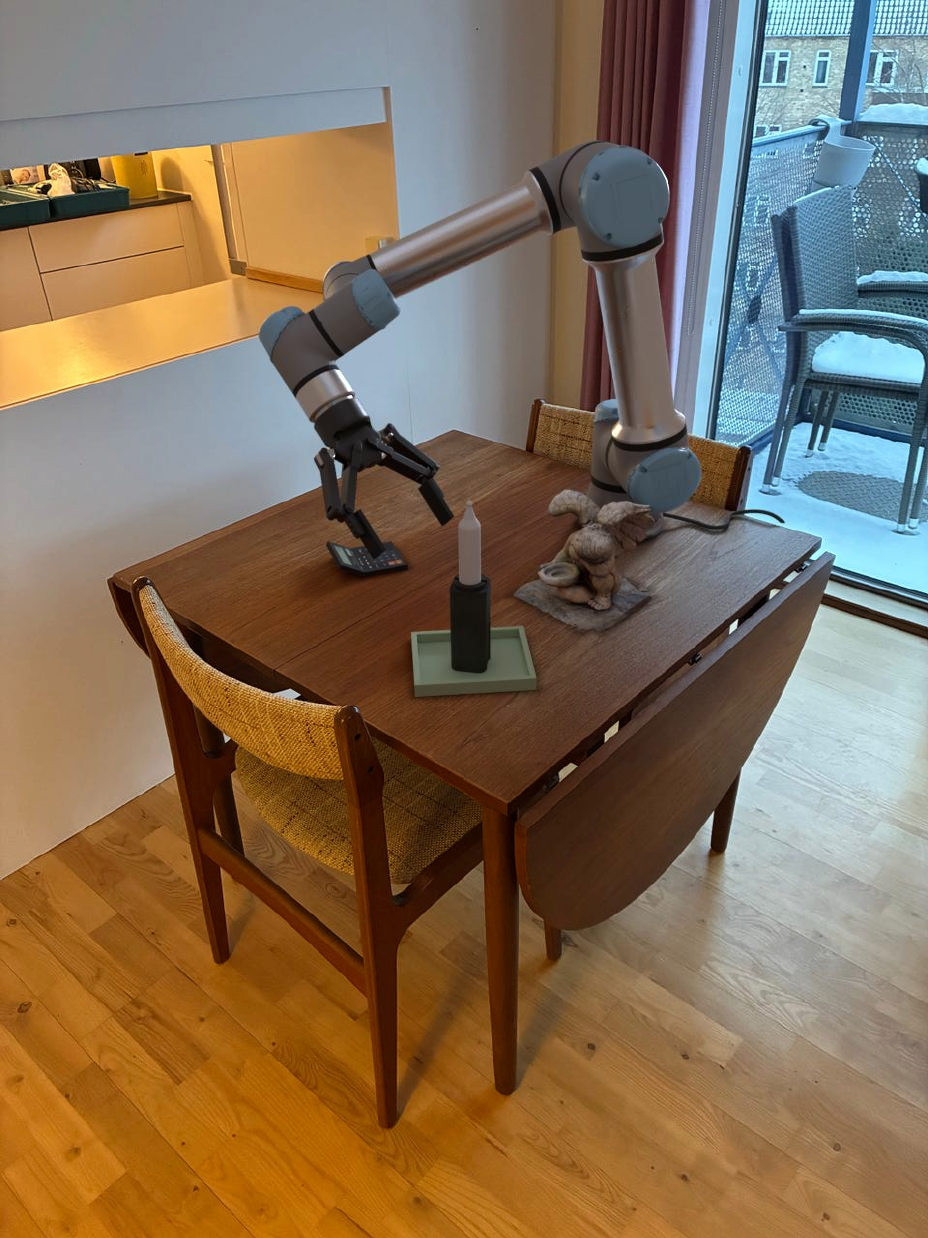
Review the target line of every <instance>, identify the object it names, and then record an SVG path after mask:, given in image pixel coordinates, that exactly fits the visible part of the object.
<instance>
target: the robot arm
mask: <svg viewBox="0 0 928 1238" xmlns="http://www.w3.org/2000/svg"><path fill="white" fill-rule="evenodd" d="M669 207H670V187H669V184H668V179H667V177H666V175H665V173H664V171H663V169H662V168H661V167H660V165H659V164H658V163H657V162H656V161H655V160H654V159H653V158H652V157H650V156H649V155H648V154H647V153H646V152H644V151H642V150H640V149H639V148H636V147H632V146H628V145H620V144H616V143H614V142H611V141H607V140H602V139H601V140H599V139H597V140H590V141H586V142H583V143H581V144H578V145H576V146H573V147H572V148H569V149H568V150H566V151H563V152H561V153H560V154H558V155H556V156H554V157H552V158H550V159H548V160H546V161H545V162H542V163H541V164H539V165H537V166H535V167H532V168H530V169H527V170H526V171H525V172H524V175H523V177H522V180H521V181H519V182H518V183H516V184H514V185H511V186H509V187H508V188H505V189H504V190H501V191H499V192H497V193H495V194H492V195H490V196H488V197H486V198H484V199H482V200H480V201H478V202H476V203H474V204H471V205H469V206H467V207H465V208H463V209H461V210H458V211H457V212H454V213H452V214H450V215H448V216H446V217H444V218H442V219H439V220H438V221H436V222H433V223H431V224H429V225H427V226H425V227H423V228H421V229H418V230H416V231H414V232H412V233H410V234H408V235H406V236H403V237H401V238H399V239H397V240H395V241H393V242H391V243H389V244H386V245H385V246H383V247H380V248H378V249H376V250H374V251H372V252H370V253H368V254H367V255H366V254H365V255H363V256H361V257H359V258H356V259H355V260H353V261H349V260H342V261H339V262H338V261H337V262H336V263H334V264H332V266H330V267H329V268H328V269H327V270H326V272H325V274H324V277H323V280H322V286H321V288H322V291H321V294H322V299H323V300H322V302H321V303H319V304H318V305H316V306H315V307H313V308H312V309H310V310H308V311H307V312H304V311H303V310H302V309H301V308H300V307H299V306H295V305H289V306H285V307H283V308H281V309H280V310H276V311H274V312H273V313H271V314H270V315H269V316H268V317H267V318H265V320H263V322H262V324H261V325H260V327H259V330H258V339H259V342H260V343H261V345H262V347H263V349H264V350H265V352H266V354H267V356H268V357H269V361H270V363H271V364H272V365H273V367H274V368H275V370H276V371H277V372H278V374H279V375H280V378H282V380H283V382H284V383H285V384H286V386H287V388H288V390H289V391H290V392H291V394H292V396H293V398H295V400H296V402H297V404H298V405H299V407H300V408H301V410H302V411H303V413H304V414H305V417H306V418H307V419H308V421H309V422H310V423H312V424H313V429H314V431H315V432H316V434H317V435H318V437H319V438H320V440H321V442H322V443H323V445H324V446H325V447H321V448H320V449H319V451H318V452H317V453H316V454H315V456H314V458H313V461H314V463H315V465H316V467H317V469H318V471H319V476H320V477H319V478H320V484H321V491H322V496H323V503H324V510H325V516H326V519H327V520H329V521H331V522H332V521H334V520H336V521H337V522H338V523H339V524H343V523H345V525H346V526H347V528H348V530H349V531H350V533H351V534H352V536H353V538H355V539H357V540H359V539H360V541H361V543H362V544H363V546H365V547H366V549H367V550H368V552H369V554H370V555H371V557H372V558H373V560H374V559H376V558H378V557H379V556H380V555H381V554H382V553H383V552H384V551H385V550H386V548H385V547H384V545H383V543H384V542H382V540H381V539H380V537H379V535H378V534H377V532H376V530H375V529H374V527H373V526H372V525H371V523H370V521H369V520H368V518H367V516H366V515H365V514H364V512H363V510H362V509H361V508H359V509H357V510H356V511H355V508H356V495H357V485H358V473H359V474H360V473H361V472H363V471H365V470H366V469H371V468H374V467H376V465H377V466H379V467H380V468H381V467H385V468H387V469H389V470H391V471H393V472H395V473H397V474H399V475H401V476H403V477H404V478H406V479H409V480H410V481H413V482H414V483H416V484H418V485H420V486H419V487H418V488H417V490H418V492H419V493H420V495H421V496H422V498H423V500H424V502H426V504H427V505H428V507H429V509H430V510H431V512H432V514H433V515H434V517H435V519H436V520H437V521H438V523H439V525H440V526H441V527H443V526H445V525H446V524H448V523H449V522H450V521H451V520H452V519H454V518H455V515H454V513H453V512H452V510H451V508H450V507H449V505H448V504H447V502H446V501H445V493H444V491H443V490H442V488H441V487H440V486H439V484H438V483H437V480H436V479H435V476H436V474H437V472H438V471H440V468H441V467H440V464H439V463H438V462H436V461H435V460H433V459H432V458H431V457H430V456H429V455H427V454H426V453H425V452H423V451H422V450H421V449H419V448H418V447H417V446H416V445H415V444H413V443H412V442H410V441H409V440H408V439H407V438H405V437H404V436H403V435H402V434H401V433H400V432H399V431H398V429H397V428H396V427H395V426H394V424H392V423H391V422H389V423H387V424H386V425H385V426H384V427H383V428H382V429H380V430H376V429H375V428H374V427H373V425H372V421H371V416H370V415H369V413H368V412H367V410H366V408H365V407H364V405H363V403H362V402H361V401H360V399H359V398H356V392H355V390H354V389H353V387H352V386H351V385H350V383H349V382H348V379H347V378H346V377H345V375H344V374H343V372H342V371H341V369H340V367H339V366H338V365H337V363H336V361H338V360H339V359H340V358H342V357H344V356H345V355H346V354H347V353H349V352H350V351H352V350H354V349H355V348H356V347H358V346H360V345H361V344H363V343H364V342H365V341H367V340H368V339H370V338H371V337H372V336H374V335H375V334H377V333H378V332H380V331H382V330H384V329H386V328H387V326H389V324H390V323H391V322H393V321H394V320H395V319H397V318H398V317H399V315H400V314H401V309H402V308H401V306H400V304H399V302H398V301H397V299H399V298H401V297H402V298H403V297H404V296H406V295H409V294H410V293H412V292H414V291H416V290H419V289H421V288H423V287H425V286H428V285H430V284H432V283H434V282H436V281H439V280H440V279H442V278H444V277H447V276H450V275H451V274H453V273H456V272H457V271H460V270H462V269H464V268H466V267H468V266H471V265H473V264H475V263H476V262H479V261H481V260H483V259H486V258H487V257H490V256H492V255H494V254H497V253H498V252H501V251H503V250H505V249H507V248H510V247H512V246H514V245H516V244H518V243H520V242H522V241H525V240H527V239H529V238H532V237H533V236H535V235H538V234H540V233H542V234H545V235H547V236H549V237H550V236H552V235H554V234H556V233H558V232H561V231H563V230H564V231H565V230H566V229H571V228H576V231H577V235H578V236H577V237H578V242H579V248H580V253H581V259H582V261H583V262H584V263H586V264H587V265H589V266H590V267H592V268H593V269H594V273H595V279H596V286H597V291H598V298H599V303H600V310H601V316H602V322H603V328H604V329H603V330H604V334H605V339H606V346H607V354H608V358H609V365H610V371H611V377H612V384H613V390H614V395H615V398H611V399H606V400H604V401H601V402H600V403H598V404H597V405H596V407H595V410H594V417H593V418H594V419H593V420H592V424H593V426H592V427H593V429H592V446H591V447H592V448H591V465H590V466H591V467H590V483H589V485H588V487H586V493H585V495H586V496H587V497H588V498H589V499H591V500H592V501H594V502H595V504H596V505H597V506H598V507H599V508H600V509H602V507H603V506H604V505H607V504H609V503H612V502H616V503H617V502H624V501H628V502H631V503H635V504H640V505H650V508H651V511H650V512H648V514H649V515H650V516H652V517H653V519H654V520H655V524H654V526H653V527H652V528H649V529H644V532H645V533H646V534H647V538H645V539H643V540H642V541H643V542H644V541H646V540H649V539H652V538H655V537H656V536H658V535H659V534H660V533H661V532H662V530H663V526H664V518H670V519H673V520H678V521H681V522H685V523H689V524H693V525H696V526H699V527H701V528H704V529H708V530H715V531H717V530H718V531H719V530H724V529H726V528H727V527H728V526H729V525H730V522H731V518H732V517H733V516H739V515H746V514H758V515H759V514H761V515H766V516H768V517H771V518H773V519H775V520H776V521H777V522H779V524H786V522H785V520H784V519H783V518H782V517H781V516H779V515H778V514H777V513H774V512H772V511H770V510H765V509H760V508H758V509H756V508H752V509H748V508H747V509H740V510H734V511H731V512H728V514H727V515H726V518H725V522H724V523H723V524H720V525H713V524H708V523H705V522H702V521H699V520H696V519H692V518H689V517H685V516H681V515H677V514H673V513H669V512H671V511H674V510H676V509H678V508H680V507H682V506H683V505H684V504H686V503H687V502H688V501H689V500H690V499H691V497H692V496H693V494H695V493H696V492H697V490H698V488H699V486H700V483H701V480H702V472H703V471H702V466H701V463H700V460H699V458H698V456H697V455H696V453H695V452H694V451H692V450H691V448H690V442H689V433H688V426H687V419H686V416H685V415H684V414H683V413H682V412H680V411H678V410H676V409H675V403H674V394H673V387H672V379H671V371H670V364H669V363H670V362H669V357H668V355H669V354H668V347H667V340H666V332H665V326H664V325H665V324H664V317H663V309H662V301H661V293H660V287H659V278H658V269H657V263H656V254H657V253H658V252H659V251H660V250H661V248H662V246H663V245H664V243H665V237H664V230H663V222H664V220H665V219H666V217H667V214H668V211H669ZM328 448H329V449H328ZM335 462H338V463H340V464H341V473H340V475H341V476H340V477H341V478H342V479H341V489H339V481H338V476H337V469H336V464H335ZM577 524H578V527H579V529H580V530H581V529H582V528H583V527H582V525H581V523H580V521H579V519H578V518H577ZM642 541H641V542H642Z"/></svg>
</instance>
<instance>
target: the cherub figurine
mask: <svg viewBox="0 0 928 1238" xmlns="http://www.w3.org/2000/svg"><path fill="white" fill-rule="evenodd" d="M548 505H549V506H548V509H547V514H548V515H549V516H551V517H554V518H557V517H561V516H564V515H566V514H572V515H574V516H575V517H576V518H577V520H578V519H579V521H580V523H581V525H582V527H583V528H582V529H581V528H580V529H578V530H575V531H573V532H572V533H570V535H569V536H568V538H567V540H566V542H565V543H564V546H563V548H562V549H561V550H560V551H559V552H558V553H557V554H556V556H555V557H554V559H553V560H551V561H550V562H546V563H543V564H540V566H539V568H538V572H537V575H538V576H539V579H535V580H532V581H529V582H527V583H525V584H523V585H521V586H520V587H519V588H518V589H517V590H516V591H515V592H514V593H513V595H512V597H515V598H517V599H519V600H521V601H524V602H525V603H528V604H529V605H531V606H533V607H536V608H538V609H539V610H540V611H541V612H542V613H545V614H549V615H550V616H552V618H554V619H557V620H558V621H561V622H562V623H564V624H566V625H569V626H571V629H573V628H577V630H576V631H577V632H579V633H586V632H588V631H595V632H597V633H599V634H602V630H605V629H609V628H612V627H613V626H614V625H616V624H617V623H619V622H620V621H622V620H623V619H624V618H626V617H628V616H629V615H630V614H632V613H633V612H635V611H636V610H638V609H639V608H640V607H642V606H643V605H645V604H646V603H647V602H649V601H650V600H651V599H653V597H652V595H649V594H647V593H646V594H645V593H643V592H646V591H647V592H648V591H649V589H648V588H645V587H643V586H640V587H639V589H638V588H636V587H635V586H634V585H633V584H632V583H631V581H629V580H628V579H626V578H623V577H622V574H621V572H620V571H619V570H618V569H617V567H616V566H615V559H618V560H619V559H622V558H623V557H624V554H625V551H628V550H632V549H636V548H638V547H637V543H641V542H642V540H643V539H645V538H647V534H646V533H645V532H644V529H649V528H652V527H653V526H654V524H655V520H654V519H653V517H652V516H650V515H649V514H648V512H650V511H651V508H650V505H640V504H635V503H631V502H628V501H624V502H617V503H616V502H612V503H609V504H607V505H604V506H603V507H602V509H600V508H599V507H598V506H597V505H596V504H595V502H594V501H592V500H591V499H589V498H588V497H587V496H586V494H584V493H582V492H579V491H576V490H572V489H563V491H561V492H560V493H558V494H556V495H555V496H554V497H553V498H552V500H551V502H550V503H549V504H548ZM643 541H644V540H643Z"/></svg>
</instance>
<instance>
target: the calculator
mask: <svg viewBox="0 0 928 1238" xmlns="http://www.w3.org/2000/svg"><path fill="white" fill-rule="evenodd" d="M382 543H383V545H384V547H385V548H386V550H385V551H384V552H383V553H382V554H381V555H380V556H379V557H378V558H376V559H374V560H373V558H372V557H371V555H370V554H369V552H368V550H367V549H366V547H365V546H364V545H362V546H355V547H351V548H350V547H347V546H344V545H341V544H338V543H335V542H332V541H329V540H327V541H326V544H325V547H326V548H327V550H328V552H329V553H330V556H331V557H332V560H333V561H334V563H335V564H336V566H337V568H338V570H340V571H343V572H347V573H351V574H354V575H357V576H360V577H364V578H366V577H373V576H377V575H383V574H388V573H394V572H398V571H403V570H404V571H405V570H408V569H409V568H408V563H407V562H406V560H405V558H404V557H403V556H402V554H401V553H400V551H399V550H398V548H397V547H396V546H395V544H394V542H392V541H391V540H390V541H385V542H382Z"/></svg>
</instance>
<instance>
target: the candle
mask: <svg viewBox="0 0 928 1238" xmlns="http://www.w3.org/2000/svg"><path fill="white" fill-rule="evenodd" d="M465 506H466V507H465V510H464V513H463V517H462V518H461V520H460V521H459V523H458V525H457V528H458V529H457V530H458V532H457V533H458V534H457V536H458V574H456V575H455V576H454V577H453V579H452V582H451V584H450V586H449V593H448V594H449V627H450V629H449V630H450V632H451V667H452V669H453V670H455V671H460V672H469V673H483V672H485V671H486V670H487V664H488V661H489V659H491V628H492V627H491V626H492V625H491V624H492V623H491V622H492V620H491V618H492V617H491V616H492V614H491V612H492V611H491V609H492V608H491V607H492V605H491V604H492V601H491V600H492V595H491V594H492V592H491V591H492V590H491V589H492V586H491V585H492V584H491V581H492V580H491V579H490V577H487V576H486V575H485V574H483V573H482V535H481V534H482V532H481V531H482V530H481V529H482V526H481V522H480V521H479V520H478V519H477V517H476V514H475V512H474V508H473V502H472V501H471V500H467V501H466V502H465Z"/></svg>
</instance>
